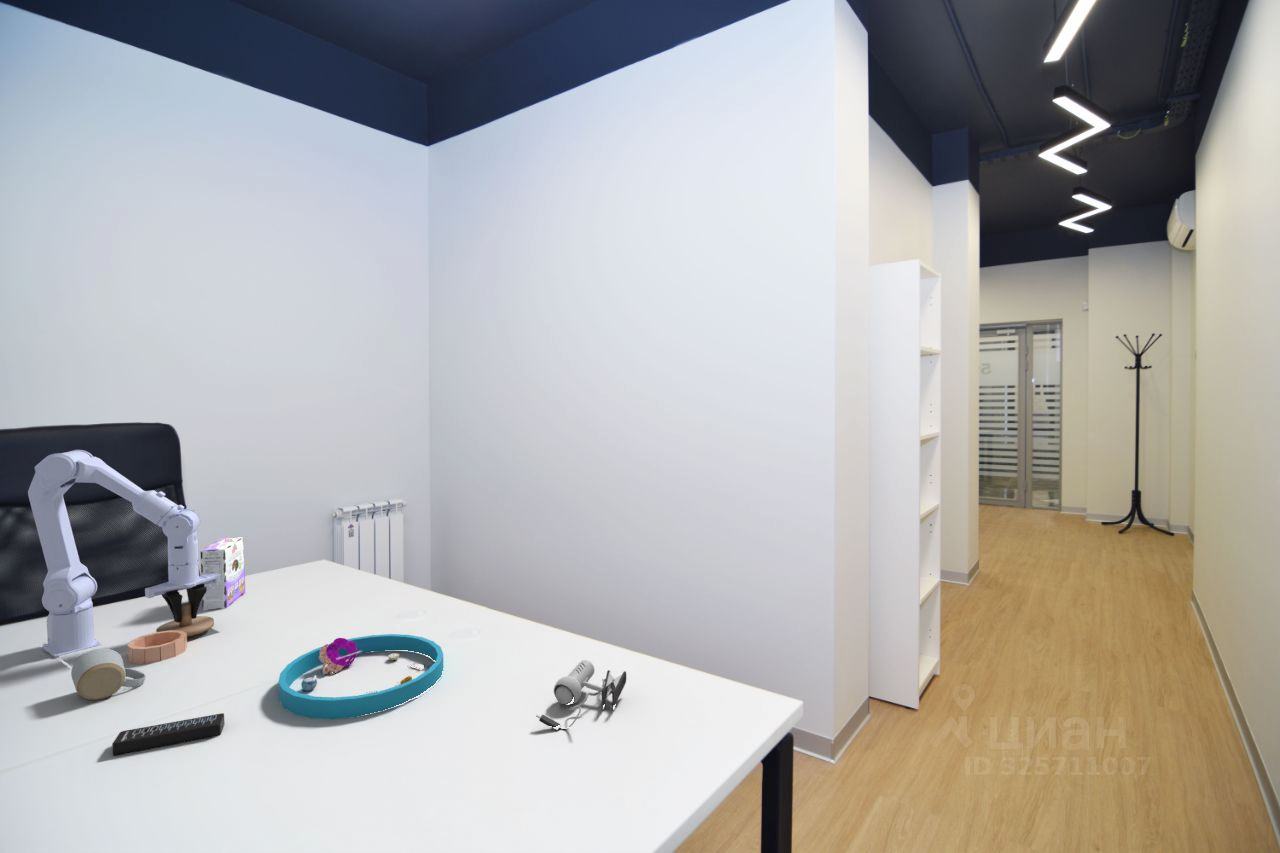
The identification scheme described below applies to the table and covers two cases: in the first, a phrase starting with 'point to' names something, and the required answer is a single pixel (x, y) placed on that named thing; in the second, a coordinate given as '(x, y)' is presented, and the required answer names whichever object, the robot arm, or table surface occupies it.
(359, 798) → the table surface
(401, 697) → the teal ring
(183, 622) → the lid
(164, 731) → the multiport hub
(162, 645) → the bowl
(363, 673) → the table surface
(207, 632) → the mat
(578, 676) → the clip-on lamp
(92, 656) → the ceramic mug
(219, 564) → the candy box
